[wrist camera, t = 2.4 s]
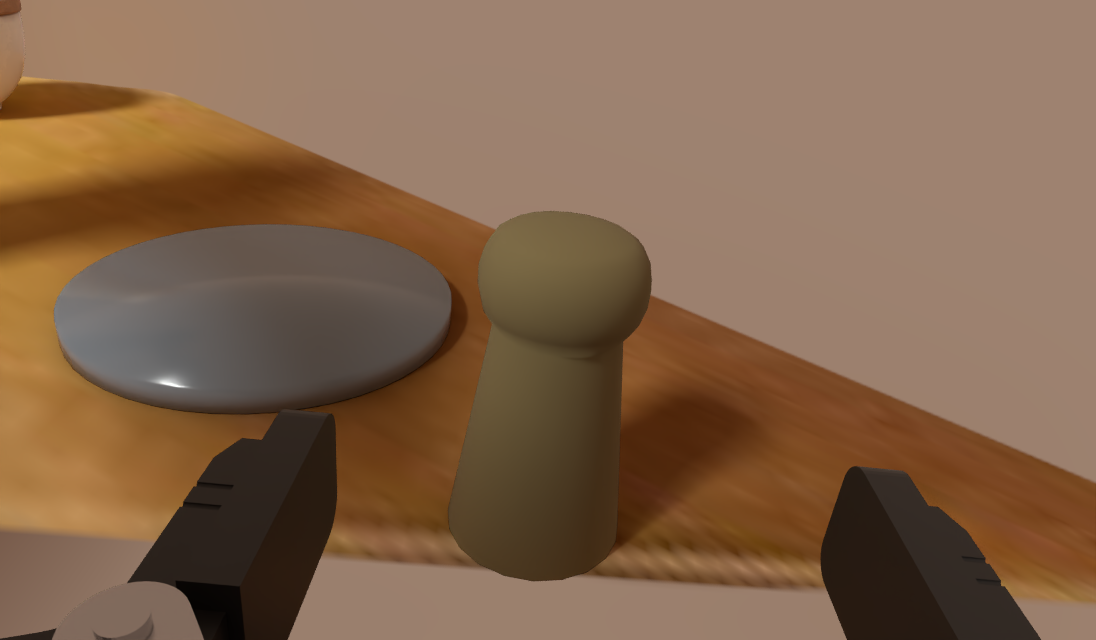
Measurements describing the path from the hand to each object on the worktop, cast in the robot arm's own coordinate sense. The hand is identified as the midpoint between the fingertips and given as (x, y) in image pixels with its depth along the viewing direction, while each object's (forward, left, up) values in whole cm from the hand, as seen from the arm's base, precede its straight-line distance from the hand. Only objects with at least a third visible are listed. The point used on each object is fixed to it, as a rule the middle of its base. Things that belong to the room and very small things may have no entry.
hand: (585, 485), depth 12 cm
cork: (-5, +10, -11) cm, 16 cm away
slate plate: (-23, +16, -11) cm, 30 cm away
